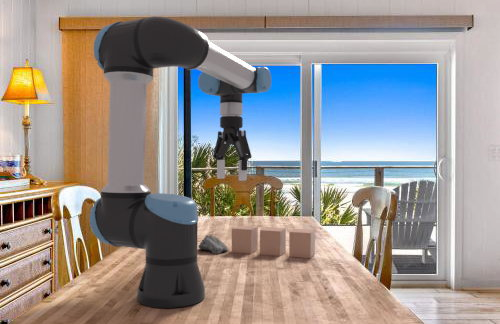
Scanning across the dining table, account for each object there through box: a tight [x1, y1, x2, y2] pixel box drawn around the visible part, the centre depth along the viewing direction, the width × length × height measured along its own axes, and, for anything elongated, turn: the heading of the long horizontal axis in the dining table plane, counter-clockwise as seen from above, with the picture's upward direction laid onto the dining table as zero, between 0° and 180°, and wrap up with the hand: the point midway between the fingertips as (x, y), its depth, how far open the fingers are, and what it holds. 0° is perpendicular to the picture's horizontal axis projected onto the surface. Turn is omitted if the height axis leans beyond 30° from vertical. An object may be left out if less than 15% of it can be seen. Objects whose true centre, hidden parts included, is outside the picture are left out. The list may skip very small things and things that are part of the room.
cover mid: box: [259, 226, 287, 257], centre depth 157 cm, size 7×7×8 cm
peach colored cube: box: [231, 225, 259, 255], centre depth 160 cm, size 7×7×8 cm
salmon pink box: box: [288, 228, 316, 259], centre depth 154 cm, size 7×7×8 cm
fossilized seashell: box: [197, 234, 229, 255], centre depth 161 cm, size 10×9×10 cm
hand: (231, 179), depth 158 cm, fingers open, 13 cm apart
